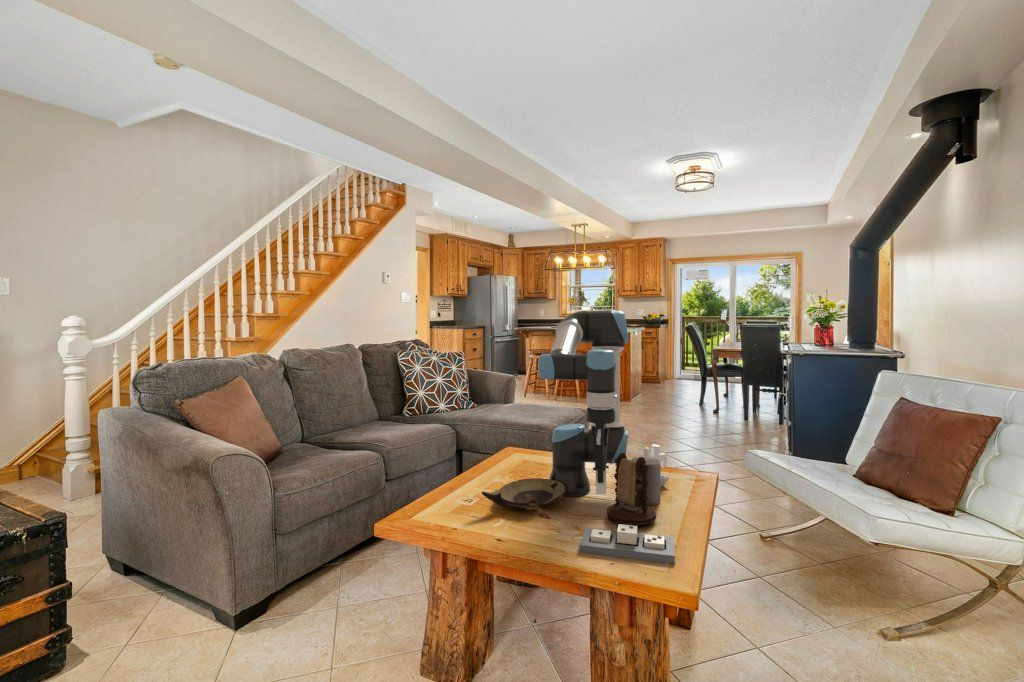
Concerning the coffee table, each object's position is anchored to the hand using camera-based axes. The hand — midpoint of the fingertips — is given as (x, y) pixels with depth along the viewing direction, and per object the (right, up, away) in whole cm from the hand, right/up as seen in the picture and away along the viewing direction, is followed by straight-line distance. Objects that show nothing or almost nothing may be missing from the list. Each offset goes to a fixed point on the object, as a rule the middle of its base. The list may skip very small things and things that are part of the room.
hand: (600, 493), depth 137 cm
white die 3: (+14, -14, -4) cm, 20 cm away
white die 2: (+7, -12, -2) cm, 14 cm away
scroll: (+12, -14, +18) cm, 25 cm away
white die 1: (0, -14, 0) cm, 14 cm away
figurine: (+29, -12, +49) cm, 58 cm away
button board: (+7, -14, -2) cm, 16 cm away
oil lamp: (-20, -13, +31) cm, 39 cm away
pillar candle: (+21, -13, +34) cm, 42 cm away
